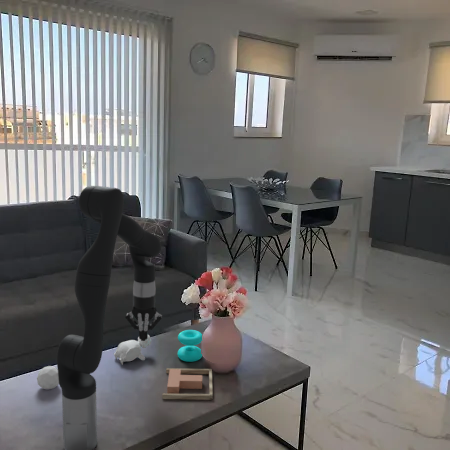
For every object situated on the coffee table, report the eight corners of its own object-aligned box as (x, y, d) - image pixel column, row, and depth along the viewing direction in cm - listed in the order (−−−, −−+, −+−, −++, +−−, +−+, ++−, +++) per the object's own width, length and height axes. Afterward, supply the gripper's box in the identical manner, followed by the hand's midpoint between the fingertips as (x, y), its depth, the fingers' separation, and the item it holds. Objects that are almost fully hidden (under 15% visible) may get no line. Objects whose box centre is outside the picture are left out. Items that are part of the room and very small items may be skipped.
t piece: (202, 395, 168) (202, 387, 168) (167, 394, 168) (167, 386, 167) (202, 377, 180) (202, 369, 179) (169, 376, 179) (169, 369, 179)
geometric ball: (43, 394, 169) (33, 373, 170) (65, 381, 172) (55, 361, 173) (42, 394, 162) (31, 373, 163) (64, 382, 165) (54, 360, 166)
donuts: (201, 327, 198) (205, 338, 189) (200, 350, 200) (204, 362, 191) (176, 329, 196) (179, 340, 187) (176, 352, 198) (178, 364, 189)
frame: (212, 399, 166) (212, 395, 165) (162, 398, 165) (162, 395, 165) (211, 372, 183) (211, 369, 183) (166, 371, 182) (166, 368, 182)
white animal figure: (126, 372, 186) (158, 350, 194) (119, 356, 183) (152, 333, 190) (117, 363, 193) (148, 342, 200) (109, 347, 189) (141, 326, 197)
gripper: (122, 295, 162) (122, 344, 166) (162, 297, 163) (161, 345, 166) (126, 288, 169) (126, 334, 173) (164, 289, 170) (163, 336, 174)
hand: (143, 339), depth 170 cm, fingers closed
